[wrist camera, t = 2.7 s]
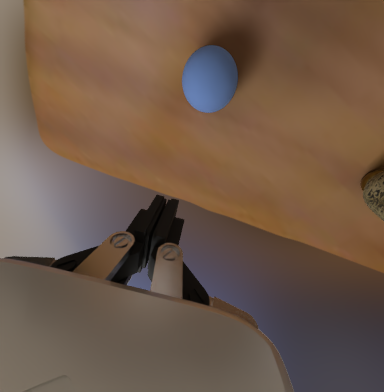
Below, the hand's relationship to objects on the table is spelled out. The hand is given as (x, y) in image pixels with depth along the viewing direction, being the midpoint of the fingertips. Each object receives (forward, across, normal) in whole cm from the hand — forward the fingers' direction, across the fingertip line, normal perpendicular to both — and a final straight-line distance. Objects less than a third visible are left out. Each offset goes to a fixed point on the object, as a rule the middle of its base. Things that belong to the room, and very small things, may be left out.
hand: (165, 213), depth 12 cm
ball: (+12, 0, -10) cm, 16 cm away
